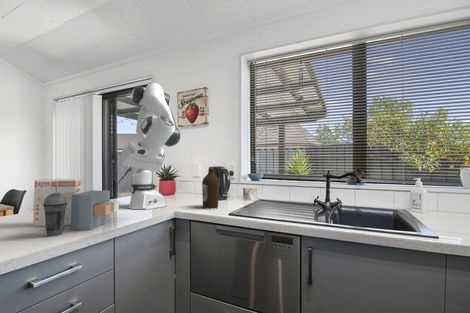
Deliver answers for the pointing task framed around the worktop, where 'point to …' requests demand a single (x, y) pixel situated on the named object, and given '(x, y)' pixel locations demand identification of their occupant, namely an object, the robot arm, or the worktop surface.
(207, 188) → the olive oil
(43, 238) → the worktop surface
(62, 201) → the beverage cup
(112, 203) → the cream block
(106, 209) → the terracotta button
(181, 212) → the worktop surface
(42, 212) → the coffeecake box
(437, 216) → the worktop surface
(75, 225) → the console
